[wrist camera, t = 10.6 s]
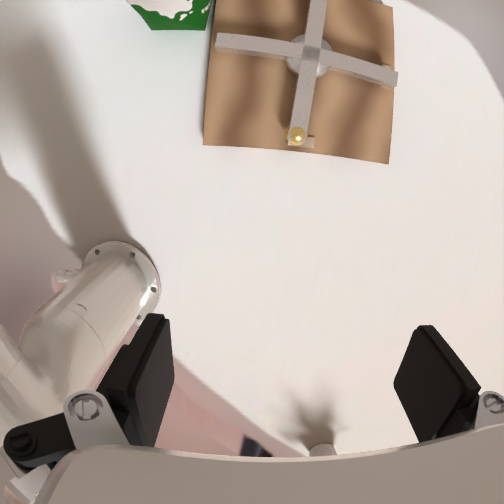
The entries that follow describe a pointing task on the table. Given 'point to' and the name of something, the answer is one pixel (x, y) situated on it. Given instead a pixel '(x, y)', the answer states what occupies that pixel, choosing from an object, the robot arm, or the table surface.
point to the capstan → (306, 64)
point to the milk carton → (173, 13)
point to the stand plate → (283, 82)
